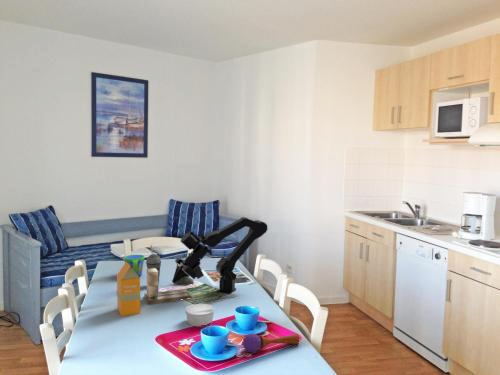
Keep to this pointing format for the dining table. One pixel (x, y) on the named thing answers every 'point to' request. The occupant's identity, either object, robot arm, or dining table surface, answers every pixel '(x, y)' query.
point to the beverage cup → (154, 263)
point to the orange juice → (128, 291)
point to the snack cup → (135, 263)
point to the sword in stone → (184, 281)
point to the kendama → (266, 341)
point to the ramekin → (199, 314)
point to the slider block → (152, 282)
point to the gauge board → (168, 296)
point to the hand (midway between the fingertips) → (172, 282)
